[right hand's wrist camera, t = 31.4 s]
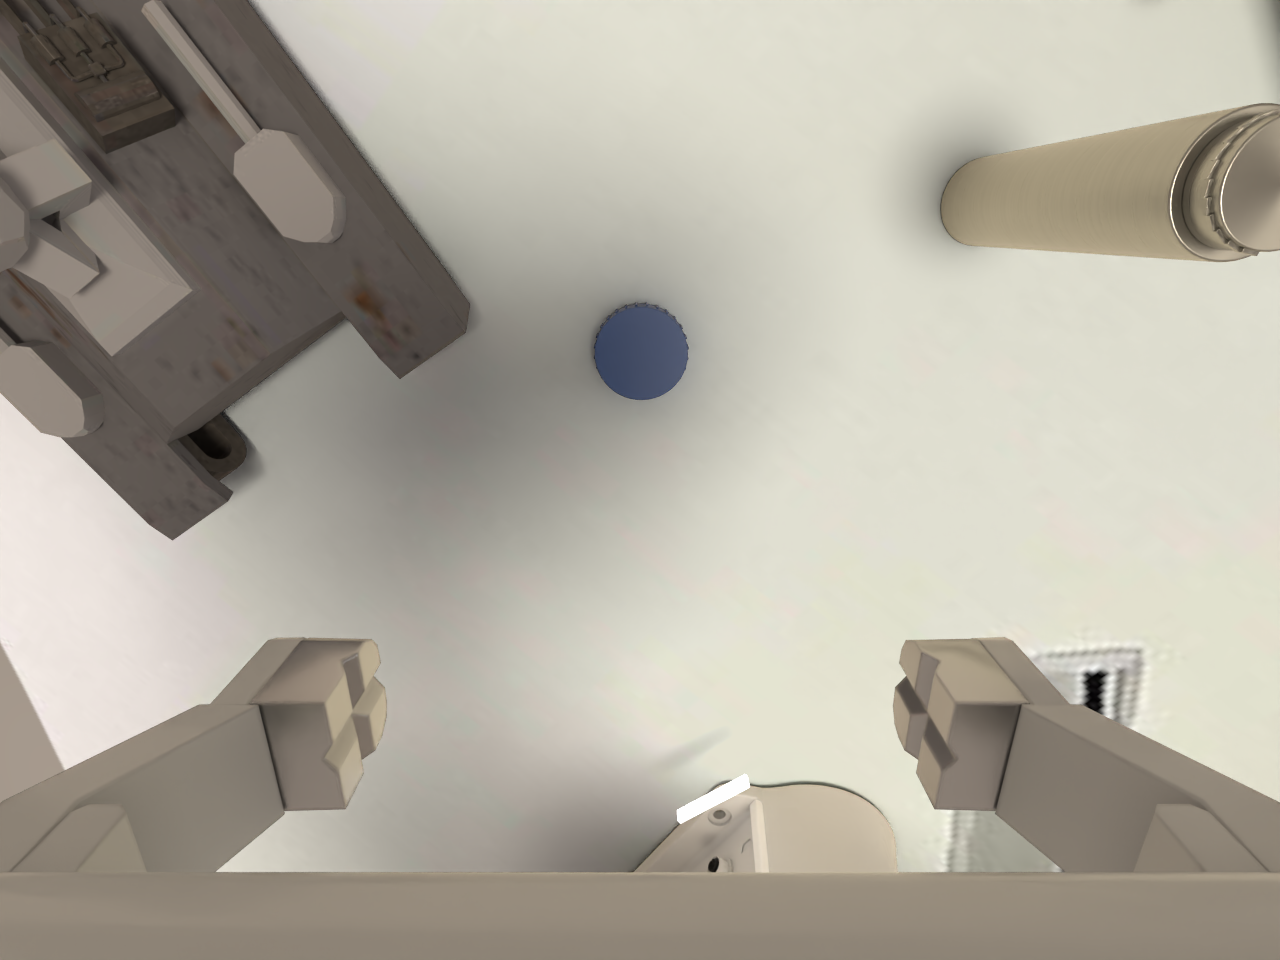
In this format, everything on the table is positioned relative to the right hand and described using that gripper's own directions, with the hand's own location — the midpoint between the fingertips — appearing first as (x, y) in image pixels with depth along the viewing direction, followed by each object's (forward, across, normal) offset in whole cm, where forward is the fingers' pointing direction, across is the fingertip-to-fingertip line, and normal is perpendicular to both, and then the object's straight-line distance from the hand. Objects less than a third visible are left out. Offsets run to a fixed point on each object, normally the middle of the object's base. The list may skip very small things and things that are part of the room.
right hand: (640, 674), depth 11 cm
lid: (+28, 0, 0) cm, 28 cm away
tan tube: (+29, +18, +8) cm, 35 cm away
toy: (+29, -24, +7) cm, 38 cm away
